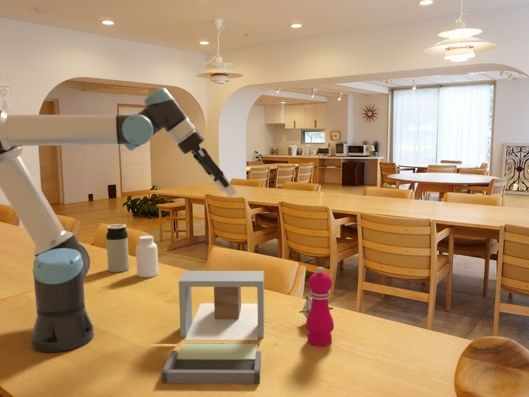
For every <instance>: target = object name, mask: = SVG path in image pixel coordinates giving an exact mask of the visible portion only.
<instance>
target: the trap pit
mask: <svg viewBox="0 0 529 397" xmlns="http://www.w3.org/2000/svg"><path fill="white" fill-rule="evenodd" d="M177 358H178V350H171V352H170V354H169V356H168V358H167V360H166V362H165V364H164V367H163V369H162V371H161V384H225V385H226V384H238V385H239V384H241V385H242V384H243V385H244V384H247V385H249V384H250V385H251V384H254V385H258V384H259V385H260V383H261V382H260V380H261V370H262V369H261V366H262V351H261V350H257V351H256V356H255V360H177Z"/></svg>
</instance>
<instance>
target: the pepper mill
mask: <svg viewBox="0 0 529 397" xmlns="http://www.w3.org/2000/svg"><path fill="white" fill-rule="evenodd" d="M324 271H325V269H324V268H323V267H322V266H319V267H317V269H316V272H314V273H313V274H311V275H310V276H309V279H308V287H309V288H310V289H311V290H310V298H312V307H311V310H310V313H309V315H308V317H307V318H306V322H305V328H306V330H307V331H308V332H307V342H308V343H309V344H310V345H312V346H314V347H315V346H317V347H327V346H328V345H331V344H332V342H333V339H332V338H333V336H332V332H333V331H334V329H335V328H334V326H335V322H334V319H333V317H332V314H331V310H330V311H329V307H330V306H329V299H330V297H331V295H330V294H331V292H330V290H331V288H332V287H333V281H332V277H331V276H330V275H329V274H327V273H326V272H324ZM328 306H329V307H328Z"/></svg>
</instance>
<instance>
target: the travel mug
mask: <svg viewBox="0 0 529 397" xmlns="http://www.w3.org/2000/svg"><path fill="white" fill-rule="evenodd" d="M126 227H127V224H124V223H113V224H108V225H106V230H107V233H106V238H105V239H106V253H107V254H106V255H107V270H108V272H110V273H115V274H116V273H123V272H124V273H125V272H127V271H128V270H130V261H129V260H130V259H129V240H128V239H129V238H128V232H127V230H126Z"/></svg>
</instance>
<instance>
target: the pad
mask: <svg viewBox="0 0 529 397" xmlns="http://www.w3.org/2000/svg"><path fill="white" fill-rule="evenodd" d="M256 351H258V343H225V342H224V343H215V342H214V343H203V342H200V343H197V342H195V343H192V342H188V343H187V342H186V343H185V342H184V343H183V344H182V347H181V349H180V351H179V354H177V360H255V356H256Z"/></svg>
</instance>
